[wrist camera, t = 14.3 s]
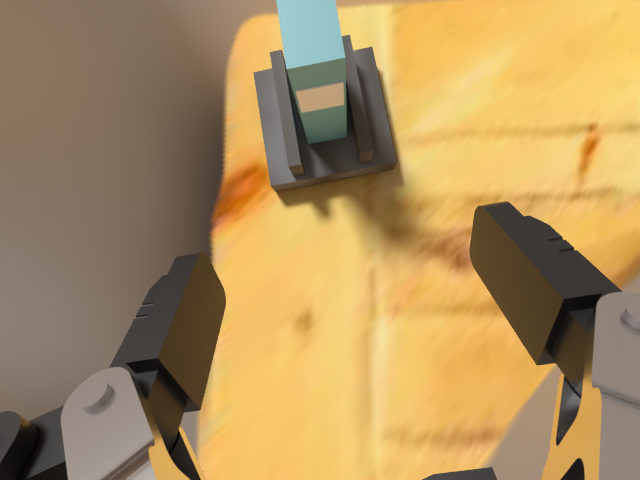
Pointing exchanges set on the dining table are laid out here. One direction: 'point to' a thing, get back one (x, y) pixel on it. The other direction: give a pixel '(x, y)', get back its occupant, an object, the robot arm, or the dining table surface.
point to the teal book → (315, 65)
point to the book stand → (334, 155)
